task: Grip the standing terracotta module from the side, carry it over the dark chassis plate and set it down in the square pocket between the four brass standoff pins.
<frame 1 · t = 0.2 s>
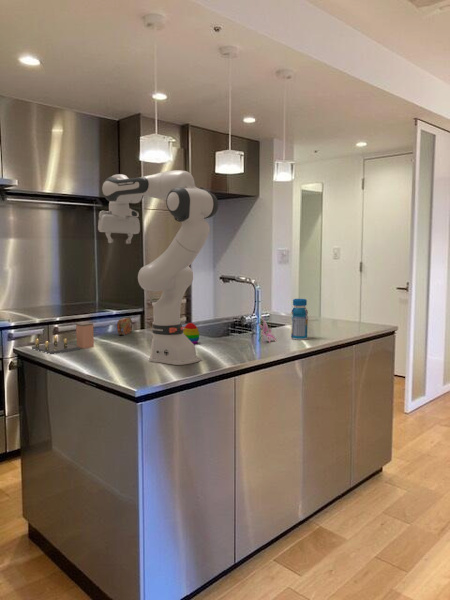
hand: (119, 243, 216), 48 cm above the countertop, tool pointing down, fingers open, 8 cm apart
module: (85, 346, 224), on the countertop
beverage bottle: (299, 339, 243), on the countertop
chassis: (55, 349, 218), on the countertop
tin: (124, 334, 260), on the countertop
decorative egg: (190, 343, 231), on the countertop
lily: (266, 342, 236), on the countertop
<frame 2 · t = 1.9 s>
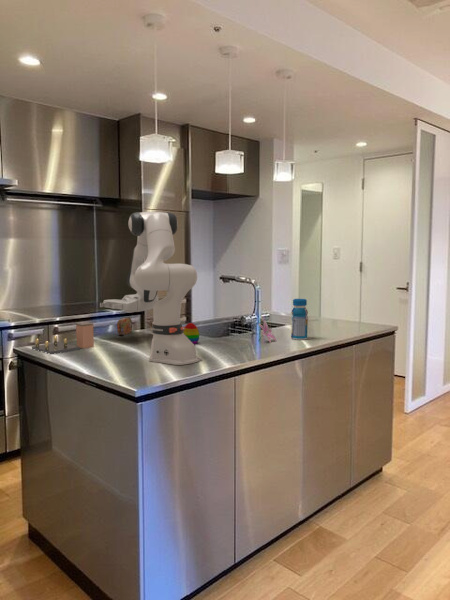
hand: (106, 306, 231), 18 cm above the countertop, tool horizontal, fingers open, 8 cm apart
nothing on the countertop moved.
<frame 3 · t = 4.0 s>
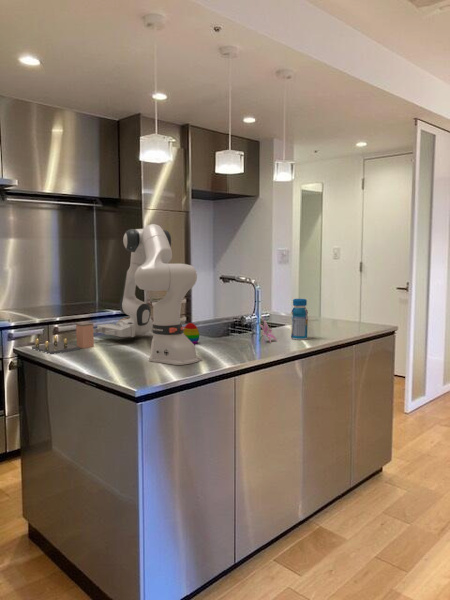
hand: (99, 332, 229), 6 cm above the countertop, tool horizontal, fingers open, 8 cm apart
nothing on the countertop moved.
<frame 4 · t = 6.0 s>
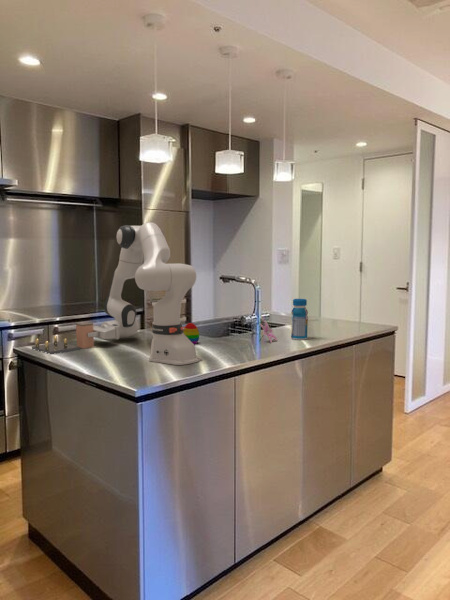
hand: (83, 334, 223), 6 cm above the countertop, tool horizontal, fingers closed on module, 5 cm apart
module: (85, 346, 224), on the countertop, touching gripper
everything else where it was.
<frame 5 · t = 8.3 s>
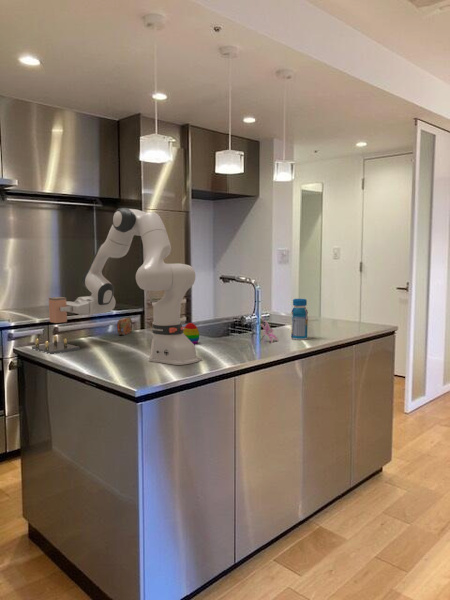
hand: (55, 308, 218), 18 cm above the countertop, tool horizontal, fingers closed on module, 5 cm apart
module: (58, 321, 219), point 12 cm above the countertop, touching gripper
when the fingers open (9 cm above the countertop, at t = 10.8 s): module drops 1 cm, resting on chassis.
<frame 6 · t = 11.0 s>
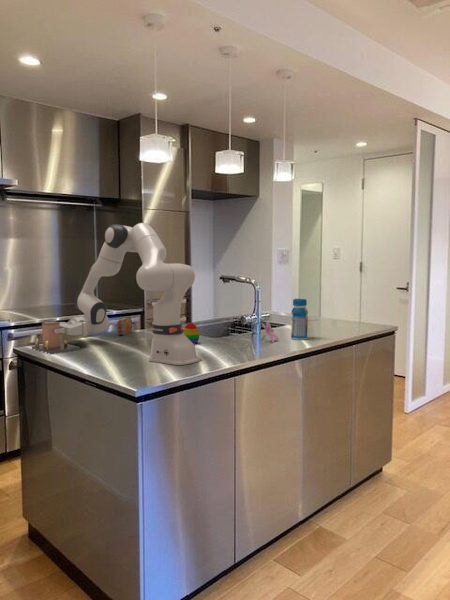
hand: (49, 330, 217), 9 cm above the countertop, tool horizontal, fingers open, 7 cm apart
module: (51, 346, 219), point 1 cm above the countertop, touching chassis
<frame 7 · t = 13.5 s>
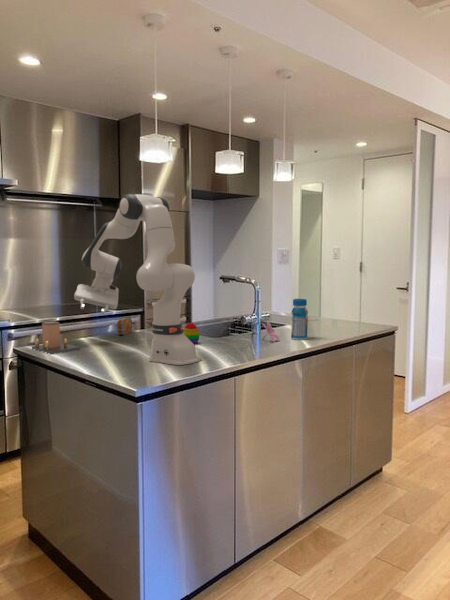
hand: (92, 310, 223), 17 cm above the countertop, tool tilted 45°, fingers open, 8 cm apart
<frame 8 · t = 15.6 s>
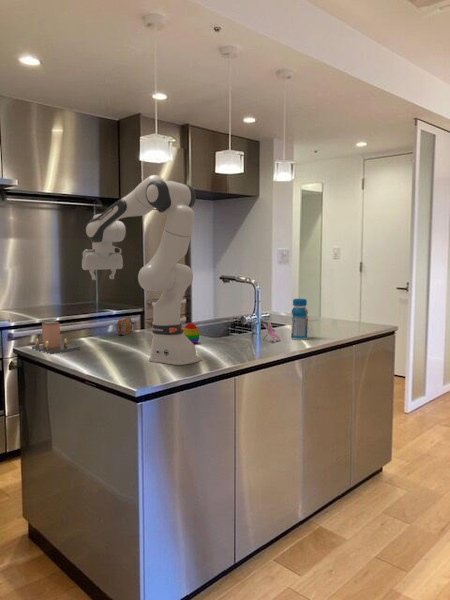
hand: (103, 279, 224), 31 cm above the countertop, tool pointing down, fingers open, 8 cm apart
at the end: module 0.1 cm from the target spot on the chassis, point 1.2 cm above the chassis's base; module tilted 0°; the gripper is holding nothing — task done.
